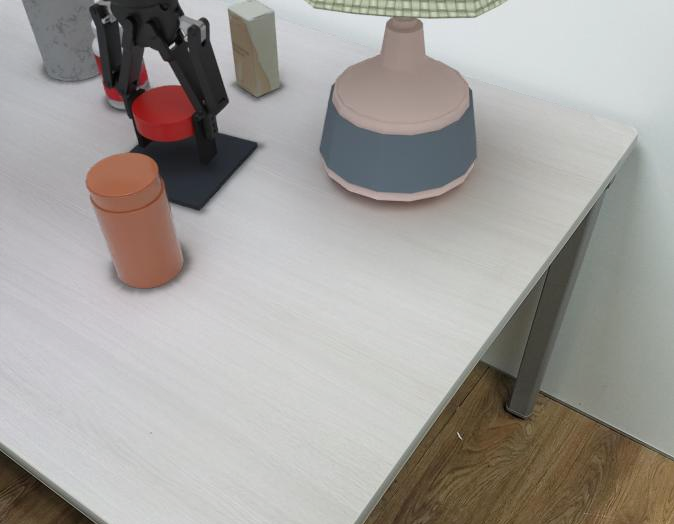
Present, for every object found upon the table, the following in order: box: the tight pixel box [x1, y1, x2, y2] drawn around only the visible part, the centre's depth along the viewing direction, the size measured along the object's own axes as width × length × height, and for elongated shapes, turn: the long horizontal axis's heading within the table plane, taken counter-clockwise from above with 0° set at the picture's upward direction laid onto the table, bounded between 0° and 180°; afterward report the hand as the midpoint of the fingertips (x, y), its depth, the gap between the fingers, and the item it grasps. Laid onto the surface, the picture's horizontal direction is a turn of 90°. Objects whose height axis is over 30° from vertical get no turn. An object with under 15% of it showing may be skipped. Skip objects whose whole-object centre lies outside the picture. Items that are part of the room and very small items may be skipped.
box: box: [226, 0, 281, 98], centre depth 95 cm, size 5×4×11 cm
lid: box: [132, 84, 204, 142], centre depth 82 cm, size 8×8×2 cm
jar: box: [84, 152, 185, 289], centre depth 71 cm, size 7×7×12 cm
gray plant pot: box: [21, 0, 100, 82], centre depth 100 cm, size 10×10×12 cm
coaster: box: [128, 132, 258, 211], centre depth 88 cm, size 14×14×1 cm
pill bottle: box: [91, 20, 152, 110], centre depth 94 cm, size 6×6×11 cm
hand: (178, 149), depth 86 cm, fingers closed on lid, 8 cm apart
